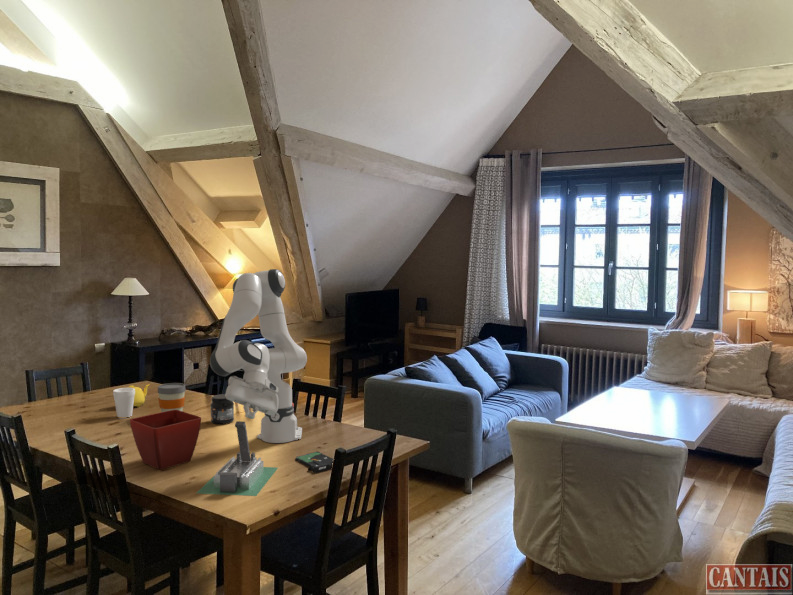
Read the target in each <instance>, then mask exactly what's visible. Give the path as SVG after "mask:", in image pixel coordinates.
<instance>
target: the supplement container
mask: <svg viewBox="0 0 793 595" xmlns="http://www.w3.org/2000/svg"><path fill="white" fill-rule="evenodd" d="M225 394H226V393H223V394H220V393H219V394H215V395H213V396H211V397H210V398H211V400H210V401H211V402H210V422H211V423H212V424H214V425H226V423H228V424H230V422H231V423H232V422H234V420H235V417H234V416H235V414H234V412H235V411H234V409H235V402H233V401H230V400H228V399H226V397H225Z"/></svg>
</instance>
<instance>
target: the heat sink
mask: <svg viewBox="0 0 793 595" xmlns="http://www.w3.org/2000/svg"><path fill="white" fill-rule="evenodd" d="M250 458H251V461H241V454H240V451H238V452H237V453H236V457H235V456H232V457H231V458H230V459H229V460H228V461H227V462H226V463H224V464H223V466H221V467H220V469H218V470H217V472H216V473H215V474H214V475H213V476H214V488H220V493H236V492H237V489H250V488H251V487H252V485H253V484H254V483H255V482H256V481H257V479H258V478H259V477H260V476H261V475H262V473H263V472H264V468H263V467H264V461H263V460H262V457H259V458H257V457H256V452H251V453H250Z"/></svg>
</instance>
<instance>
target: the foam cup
mask: <svg viewBox="0 0 793 595" xmlns="http://www.w3.org/2000/svg"><path fill="white" fill-rule="evenodd" d="M112 394H113V396H112V397H113V399H114V405H115V411H116V417H123V418H122V419H125V418H124V417H130V416H133V411H134V406H133V403H134V395H135V389H134V388H129V387H120V388H116V389H113V391H112ZM130 418H131V417H130Z"/></svg>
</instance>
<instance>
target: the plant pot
mask: <svg viewBox="0 0 793 595" xmlns="http://www.w3.org/2000/svg"><path fill="white" fill-rule="evenodd" d="M129 423H130V428H131V432H132V436H133V439H134V443H135V445H136V449H137V450H138V454H139V456H140V459H141V460H142V462H143V463H144V464H146V465H149V466H150V467H153V468H155V469H156V470H164V469H167V468H171V467H175V466H178V465H182V464H185V463H188V462H191V460H192V457H193V455H194V452H195V449H196V446H197V442H198V438H199V434H200V430H201V424H202V417H201V416H198V415H195V414H191V413H189V412H185V411H184V410H183V411H179V410H170V411H165V412H161V411H160V412H156V413H152V414H148V415H142V416H137V417H133V418H130V419H129Z"/></svg>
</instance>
